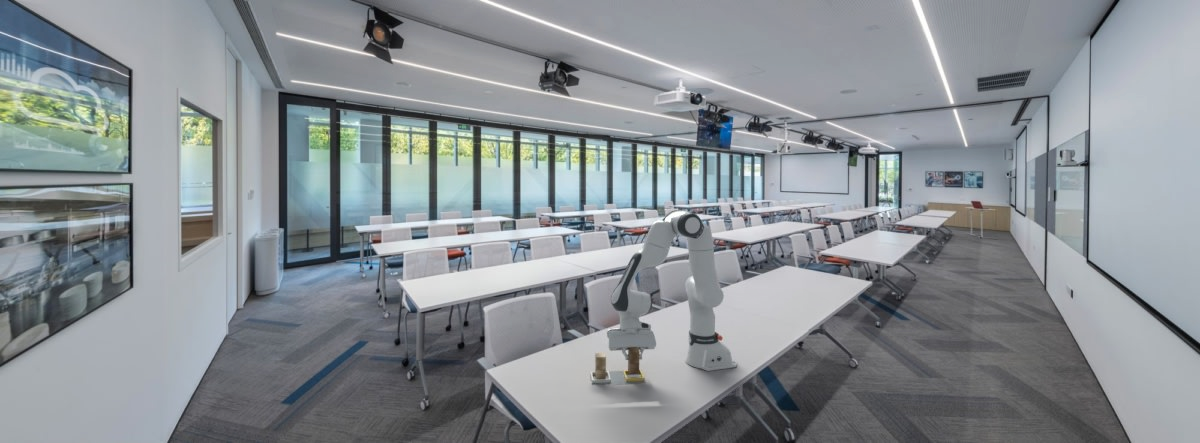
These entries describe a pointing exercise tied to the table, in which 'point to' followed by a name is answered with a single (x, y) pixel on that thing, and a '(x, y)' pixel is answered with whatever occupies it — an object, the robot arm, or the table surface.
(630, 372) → the walnut pillar
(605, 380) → the base plate
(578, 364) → the table surface
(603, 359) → the oak pillar
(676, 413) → the table surface
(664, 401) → the table surface
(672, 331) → the table surface
